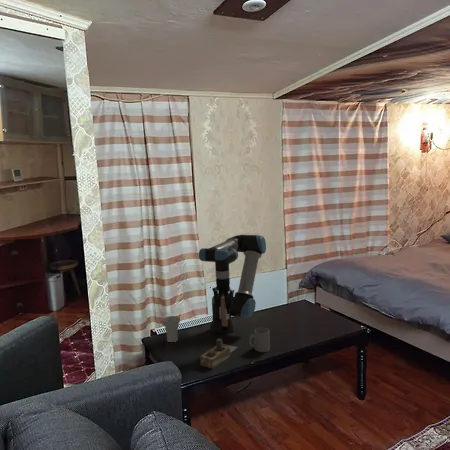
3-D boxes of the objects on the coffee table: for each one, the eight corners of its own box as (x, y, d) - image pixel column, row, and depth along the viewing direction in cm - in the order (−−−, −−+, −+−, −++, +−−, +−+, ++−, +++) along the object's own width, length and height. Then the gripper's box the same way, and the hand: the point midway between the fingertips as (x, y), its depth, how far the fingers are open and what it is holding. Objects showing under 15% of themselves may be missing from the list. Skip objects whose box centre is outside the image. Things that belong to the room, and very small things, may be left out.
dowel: (220, 325, 230) (219, 297, 227) (224, 323, 232) (222, 296, 230) (225, 326, 228) (224, 298, 225) (228, 324, 230) (227, 297, 228)
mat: (213, 351, 230) (213, 350, 230) (223, 344, 239) (223, 343, 239) (228, 354, 225) (228, 354, 225) (237, 347, 233) (237, 347, 233)
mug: (265, 344, 236) (264, 326, 234) (272, 350, 228) (272, 331, 226) (246, 349, 231) (245, 330, 230) (253, 355, 224) (252, 335, 222)
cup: (184, 338, 250) (182, 316, 248) (177, 345, 240) (176, 323, 238) (167, 336, 253) (166, 315, 251) (160, 343, 243) (159, 321, 241)
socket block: (200, 365, 214) (199, 347, 213) (218, 353, 227) (217, 335, 226) (213, 369, 210) (212, 350, 208) (230, 356, 223) (229, 338, 222)
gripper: (206, 277, 227) (208, 318, 231) (231, 281, 218) (233, 323, 222) (214, 274, 234) (216, 313, 237) (238, 277, 225) (240, 318, 228)
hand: (224, 318), depth 229 cm, fingers closed on dowel, 3 cm apart
